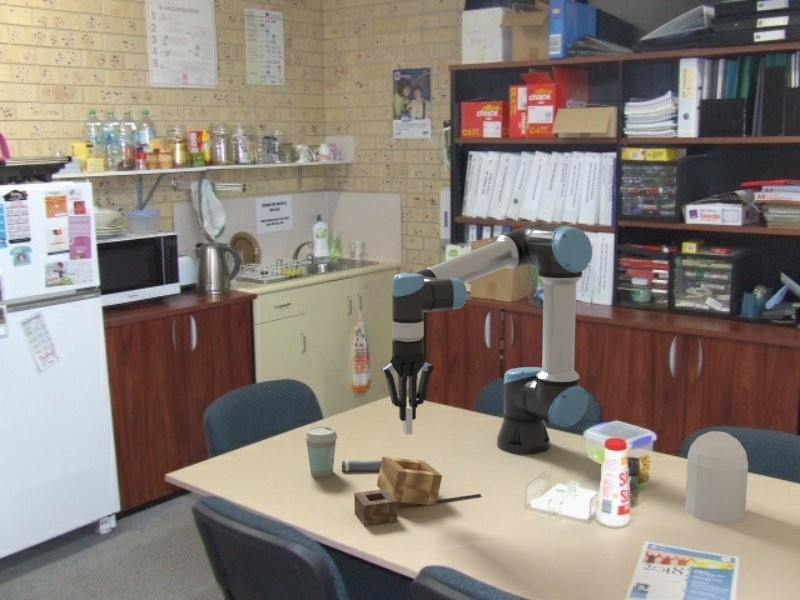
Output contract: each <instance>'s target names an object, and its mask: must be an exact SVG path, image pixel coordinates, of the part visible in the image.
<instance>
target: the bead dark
mask: <svg viewBox="0 0 800 600" xmlns="http://www.w3.org/2000/svg"><path fill="white" fill-rule="evenodd" d="M353 497H354V514H355V515H356V517H357V518H358V520H359V521H360V523H361V524H362V525H363V527H368V526H369V527H370V526H375V525H383V524H390V523H396V522H398V502H397V500H396V499H395V498H394V497H393V496H392V495H391V493H390V492H389V491H388V490H387V489H382V490H381V489H376V490H375V489H374V490H367V491H359V492H354V496H353Z"/></svg>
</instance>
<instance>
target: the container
mask: <svg viewBox="0 0 800 600" xmlns="http://www.w3.org/2000/svg"><path fill="white" fill-rule="evenodd" d="M686 457H687V466H686V485H685V486H686V487H685V503H684V504H685V505H684V508H685V511H686V513H688V515H690V516H691V517H693V518H695V519H698V520H701V521H703V522H708V523H712V524H725V525H726V524H733V523H738V522H740V521H742V520H744V519H745V516H746V505H747V492H748V491H747V488H748V474H749V473H748V472H749V462H748V456H747V451H746V449H745V448H744V447H743V445H742V444H741V442H740V441H739V440H738V439H737V438H736V437H735V436H732V435H731V434H730V433H727V432H725V431H724V432H723V431H717V430H713V431H708V432H706V433H703V434H700V435H699V436H698V437H696V438H695V440H694V441H693V442H692V443H691V444H690V446H689V450H688V453H687V456H686Z"/></svg>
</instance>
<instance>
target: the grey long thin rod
mask: <svg viewBox="0 0 800 600" xmlns="http://www.w3.org/2000/svg"><path fill="white" fill-rule="evenodd" d="M480 497H482V494H481V493H477V494H476V493H475V494H469V495H464V496H455V497H448V498H441V499H437V503H436V504H440V503H441V504H443V503H446V502H454V501H461V500H467V499H473V498H480ZM417 506H418V507H422V506H427V504H417Z"/></svg>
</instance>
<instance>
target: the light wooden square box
mask: <svg viewBox="0 0 800 600" xmlns="http://www.w3.org/2000/svg"><path fill="white" fill-rule="evenodd" d="M381 461H382V462H381V467H380V471H378V472H379V473H378V476H377V477H378V478H377V483H376V486H377V488H379V490H382V489H387V490H388V491H389V492H390V493H391V495H392V496H393V497H394V498H395V499H396V500H397V503H404V504H406V503H407V504H417V505H418V504H427V505H429V506H430V505H431V506H434V505H437V504H438V503H437V500H439V493H440V489H441V484H442V478H443V474H441V473H440V472H439V471H438V470H436V469H435V468H434V467H433V466H432V465H430V464H429V463H428V462H427V461H426V460H419V459H418V460H417V459H411V458H410V459H407V458H399V457H391V456H390V457H389V456H382V458H381ZM427 505H426V506H427Z"/></svg>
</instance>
